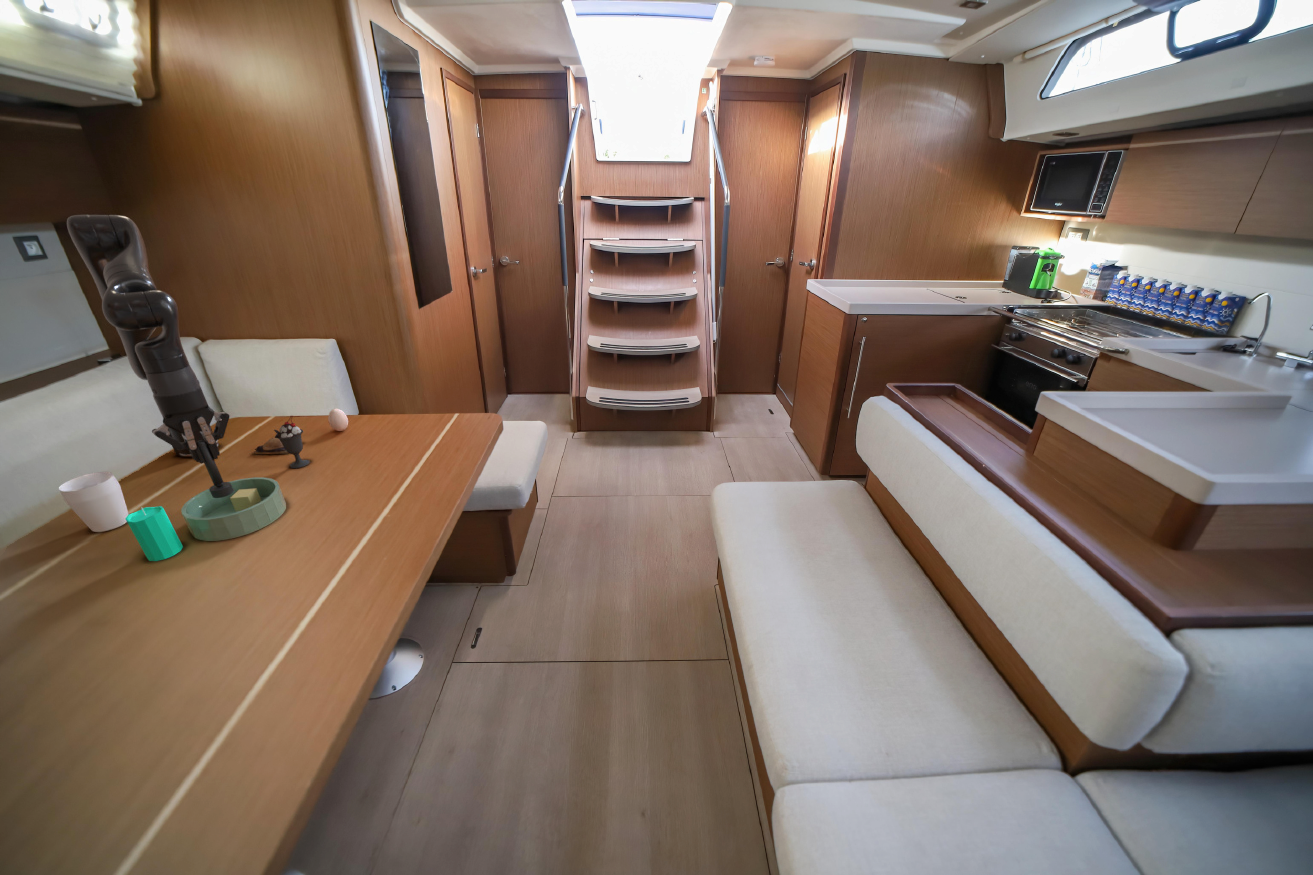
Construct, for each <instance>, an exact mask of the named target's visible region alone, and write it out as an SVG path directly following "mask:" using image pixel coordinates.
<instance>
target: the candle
mask: <svg viewBox="0 0 1313 875" xmlns="http://www.w3.org/2000/svg"><path fill="white" fill-rule="evenodd" d="M140 508H141V509H139V510H137V511H134V512H132V513H129V514H128V516H127V517H126V521H127V522H126V524H127V525H128V526H129V528H130V531H131V532H132V534H133V536H134V538H135V539H136V541H137V543H138V545H139V546H140V549H141V550H142V552H143V553H144V555H145V557H146V559H147V560H148V561H149V562H159V561H162V560H166V559H169V558H171V557H174V556H175V555H177V554H178V553H180V552H181V551H182V549H183V548H184V546H183V544H182V542H181V540H180V538H179V535H178V533H177V532H176V530H175V528H174V526H173V523H172V522H171V520H170V518H169V515H168V514H167V512H166V510H165V508H164V507H163V506H162V505H159V506H145V507H142V506H141V507H140Z"/></svg>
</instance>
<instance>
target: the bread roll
mask: <svg viewBox="0 0 1313 875" xmlns="http://www.w3.org/2000/svg"><path fill="white" fill-rule="evenodd" d="M254 450H255V451H254V455H269V454H270V455H277V454H289V453H288V452H287V451H286V450H285V448H284V446H283V444H282V443H281V441H280V440H279V439H277V438H275V437H272V438H270V439H268V440H267V441H266V442H265V443H264V444H262V445H258V446H256V448H254Z"/></svg>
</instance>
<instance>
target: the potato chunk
mask: <svg viewBox="0 0 1313 875" xmlns="http://www.w3.org/2000/svg"><path fill="white" fill-rule="evenodd" d="M230 499H231V502H232V504H233V506H234V509H235V511H241V510H244V509H247V508H250V507H252V506H254V505H256V504H258V503H260V502H261V498H260V496H259V493H258V491H257V488H254V489H241V490H238V491H237V492H236V493H235V494H234V495H233V496H232V497H231V498H230Z"/></svg>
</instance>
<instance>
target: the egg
mask: <svg viewBox="0 0 1313 875" xmlns="http://www.w3.org/2000/svg"><path fill="white" fill-rule="evenodd" d="M327 421H328V424H329V426H330V428H331V429H332V430H334V431H335V432H336V431H337V432H343V431H345V430H346V429H347V428H348V426H349V419H348V416H347V414H346V413H345V412H344V411H343V410H342V409H339V408H333V409H331V410H330V411H329V413H328V417H327Z"/></svg>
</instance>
